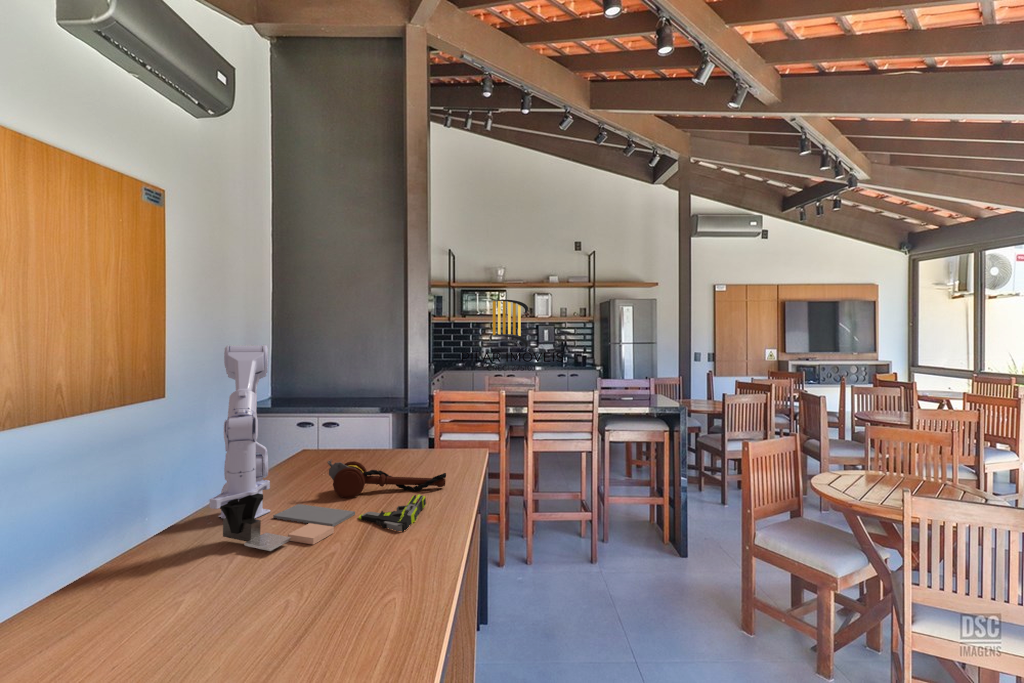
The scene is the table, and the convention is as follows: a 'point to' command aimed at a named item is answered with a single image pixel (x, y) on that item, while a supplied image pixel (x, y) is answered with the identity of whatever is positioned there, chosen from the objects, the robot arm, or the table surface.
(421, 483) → the gavel
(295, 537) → the block
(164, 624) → the table surface
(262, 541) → the turner
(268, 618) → the table surface
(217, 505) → the robot arm
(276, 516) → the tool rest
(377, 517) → the toy gun
